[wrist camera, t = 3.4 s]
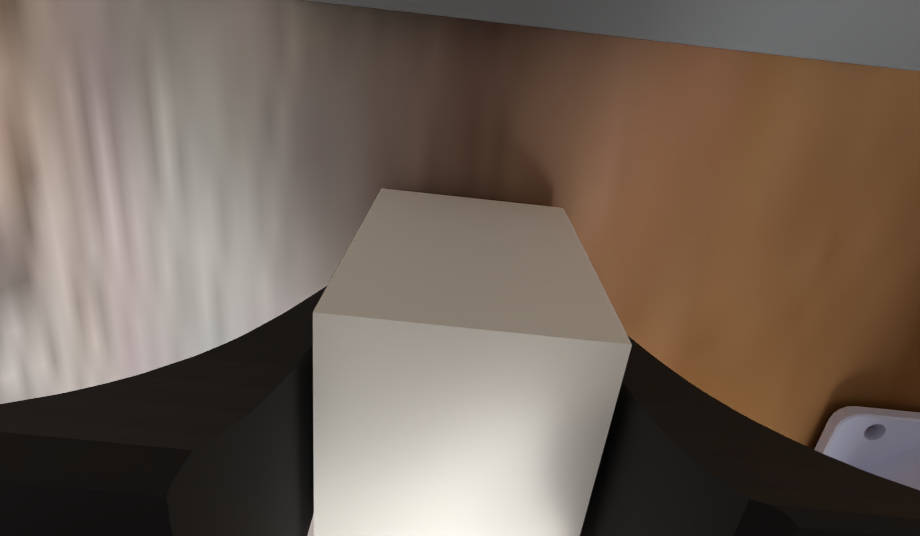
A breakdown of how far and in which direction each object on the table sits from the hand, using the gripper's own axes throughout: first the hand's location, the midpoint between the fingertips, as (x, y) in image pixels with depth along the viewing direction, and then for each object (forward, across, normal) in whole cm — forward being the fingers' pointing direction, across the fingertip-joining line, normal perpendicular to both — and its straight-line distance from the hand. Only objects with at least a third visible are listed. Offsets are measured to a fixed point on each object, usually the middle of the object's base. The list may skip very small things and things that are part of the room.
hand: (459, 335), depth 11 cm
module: (+2, 0, 0) cm, 2 cm away
